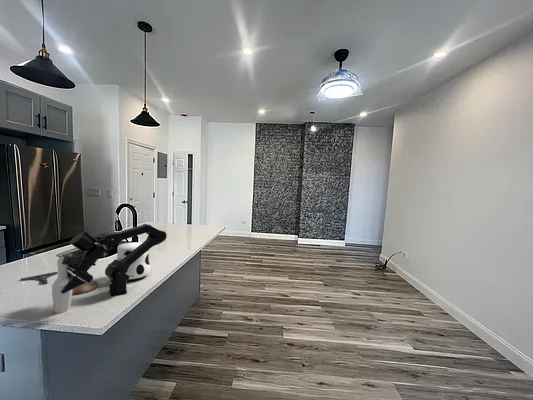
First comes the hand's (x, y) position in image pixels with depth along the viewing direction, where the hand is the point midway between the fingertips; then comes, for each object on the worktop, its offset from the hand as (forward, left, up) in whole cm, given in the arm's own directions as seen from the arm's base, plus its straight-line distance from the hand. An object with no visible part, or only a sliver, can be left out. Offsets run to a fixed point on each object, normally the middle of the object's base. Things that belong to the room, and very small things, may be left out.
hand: (58, 290), depth 98 cm
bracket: (+11, -43, -9) cm, 45 cm away
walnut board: (-6, -22, -9) cm, 24 cm away
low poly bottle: (-1, -1, -9) cm, 9 cm away
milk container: (-29, -28, -9) cm, 41 cm away
